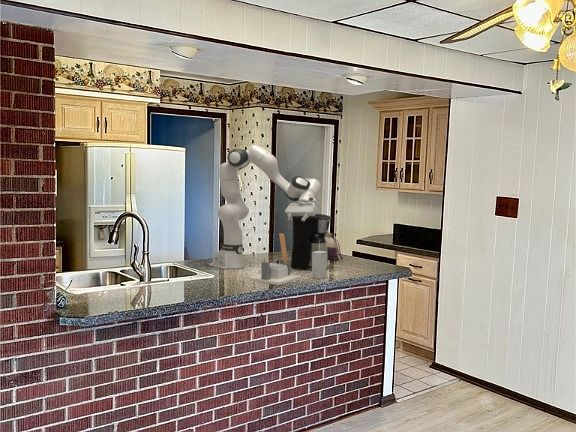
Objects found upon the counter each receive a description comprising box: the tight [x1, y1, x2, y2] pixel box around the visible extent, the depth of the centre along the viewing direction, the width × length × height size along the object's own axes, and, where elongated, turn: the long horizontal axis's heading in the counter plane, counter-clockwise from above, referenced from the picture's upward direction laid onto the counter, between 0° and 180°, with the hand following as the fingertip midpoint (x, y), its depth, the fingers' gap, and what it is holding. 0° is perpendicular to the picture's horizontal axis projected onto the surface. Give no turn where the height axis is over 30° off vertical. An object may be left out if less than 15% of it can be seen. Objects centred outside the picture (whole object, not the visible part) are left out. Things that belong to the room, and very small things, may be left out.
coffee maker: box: [275, 213, 332, 271], centre depth 335 cm, size 23×32×34 cm
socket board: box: [248, 258, 303, 286], centre depth 299 cm, size 20×22×11 cm
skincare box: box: [311, 251, 328, 280], centre depth 307 cm, size 8×6×15 cm
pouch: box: [324, 231, 344, 261], centre depth 370 cm, size 25×8×19 cm, turn 57°
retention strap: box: [278, 233, 289, 264], centre depth 304 cm, size 18×3×1 cm
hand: (295, 220), depth 312 cm, fingers open, 8 cm apart
